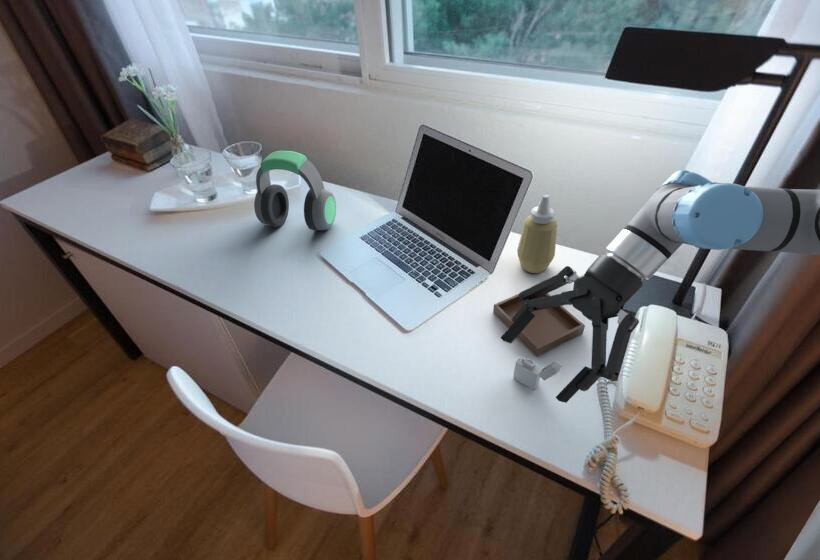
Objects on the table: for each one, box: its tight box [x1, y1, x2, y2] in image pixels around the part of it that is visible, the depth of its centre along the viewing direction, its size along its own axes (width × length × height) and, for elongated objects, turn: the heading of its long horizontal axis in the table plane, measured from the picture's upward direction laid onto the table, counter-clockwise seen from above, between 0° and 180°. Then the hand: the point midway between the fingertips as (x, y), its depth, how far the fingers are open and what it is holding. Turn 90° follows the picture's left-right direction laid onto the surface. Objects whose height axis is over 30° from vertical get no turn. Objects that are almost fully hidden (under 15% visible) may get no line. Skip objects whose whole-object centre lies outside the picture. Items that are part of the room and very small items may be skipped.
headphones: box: [253, 150, 337, 232], centre depth 109 cm, size 19×11×20 cm, turn 77°
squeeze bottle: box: [516, 194, 558, 274], centre depth 92 cm, size 8×8×18 cm
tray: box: [492, 293, 586, 358], centre depth 84 cm, size 13×11×2 cm
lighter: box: [512, 356, 563, 391], centre depth 71 cm, size 7×2×8 cm, turn 49°
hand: (531, 368), depth 70 cm, fingers open, 13 cm apart
